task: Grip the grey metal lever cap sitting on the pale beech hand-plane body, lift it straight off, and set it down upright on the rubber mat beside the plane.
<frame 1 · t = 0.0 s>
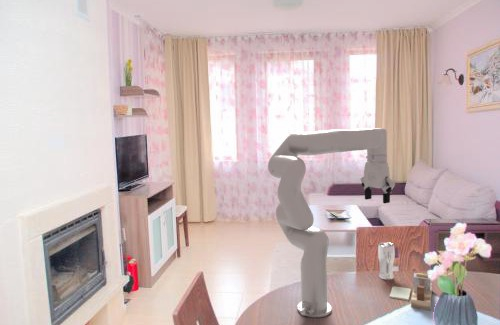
hand: (377, 200, 157), 37 cm above the table, tool pointing down, fingers open, 9 cm apart
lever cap: (422, 290, 151), point 3 cm above the table, touching plane body
mat: (400, 293, 156), on the table
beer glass: (386, 277, 172), on the table
plane body: (422, 298, 151), on the table
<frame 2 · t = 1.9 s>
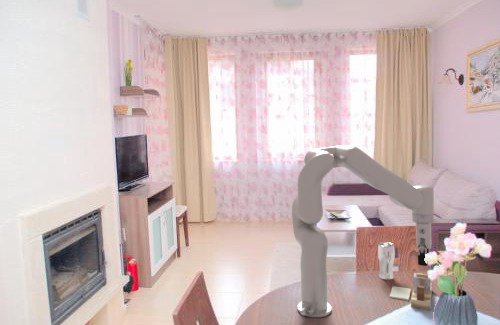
hand: (423, 260, 150), 15 cm above the table, tool pointing down, fingers open, 9 cm apart
nothing on the table moved.
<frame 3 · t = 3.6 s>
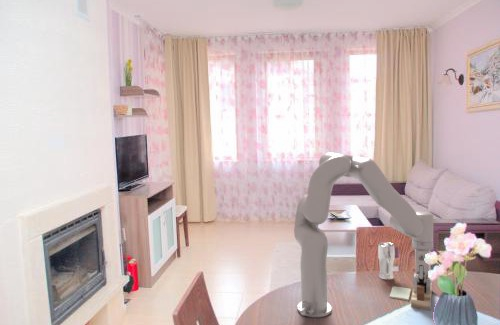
hand: (422, 289, 151), 4 cm above the table, tool pointing down, fingers closed on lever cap, 4 cm apart
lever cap: (422, 290, 151), point 3 cm above the table, touching gripper, plane body
everything else where it was.
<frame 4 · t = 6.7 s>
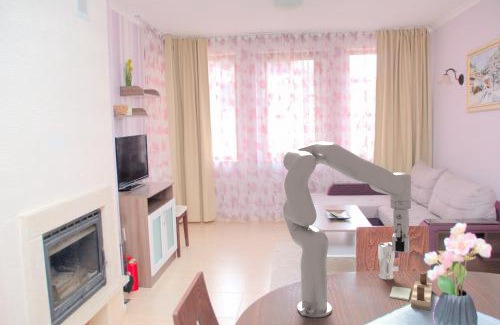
hand: (400, 248, 154), 19 cm above the table, tool pointing down, fingers closed on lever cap, 4 cm apart
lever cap: (400, 250, 154), point 18 cm above the table, touching gripper
everything else where it was.
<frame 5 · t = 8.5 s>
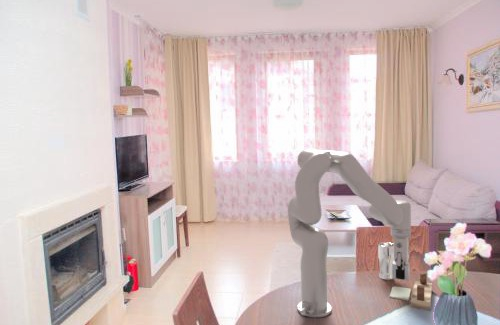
hand: (400, 275, 155), 7 cm above the table, tool pointing down, fingers closed on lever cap, 4 cm apart
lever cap: (401, 277, 155), point 7 cm above the table, touching gripper
everything else where it was.
when the fingers open (3 cm above the table, at t = 9.8 s): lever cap drops 1 cm, resting on mat.
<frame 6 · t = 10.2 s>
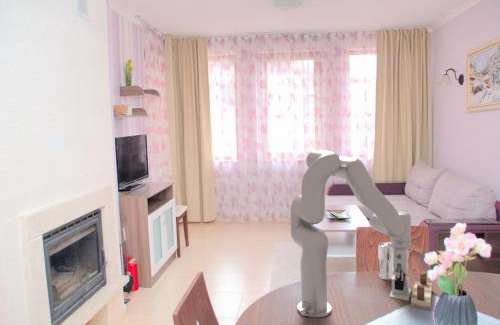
hand: (400, 285, 155), 4 cm above the table, tool pointing down, fingers open, 8 cm apart
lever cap: (400, 292, 156), point 1 cm above the table, touching mat
everything else where it was.
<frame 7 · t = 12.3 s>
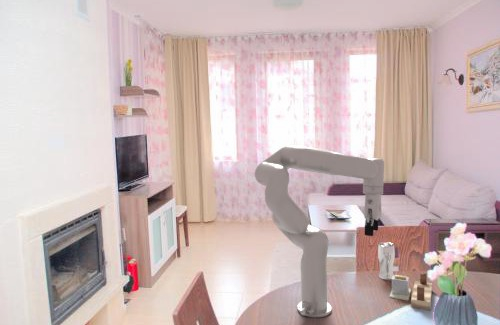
hand: (371, 232, 153), 26 cm above the table, tool pointing down, fingers open, 9 cm apart
nothing on the table moved.
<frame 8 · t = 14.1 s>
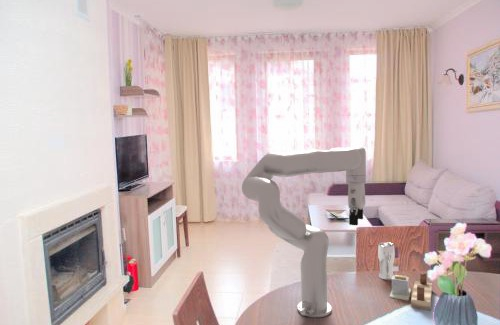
hand: (356, 221, 153), 30 cm above the table, tool pointing down, fingers open, 9 cm apart
nothing on the table moved.
at the end: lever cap 0.1 cm off-centre on the mat, point 0.6 cm above the mat's base; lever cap tilted 0°; the gripper is holding nothing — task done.
